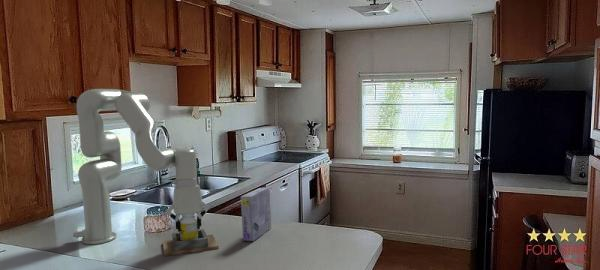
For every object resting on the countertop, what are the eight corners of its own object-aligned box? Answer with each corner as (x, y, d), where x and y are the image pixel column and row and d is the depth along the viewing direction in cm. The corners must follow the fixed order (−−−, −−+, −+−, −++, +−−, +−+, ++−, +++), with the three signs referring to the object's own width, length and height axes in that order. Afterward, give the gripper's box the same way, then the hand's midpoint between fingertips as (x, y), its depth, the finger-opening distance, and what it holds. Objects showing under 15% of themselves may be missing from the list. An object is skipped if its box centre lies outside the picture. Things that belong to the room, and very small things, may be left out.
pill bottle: (182, 238, 164) (180, 209, 162) (199, 238, 164) (198, 208, 163) (178, 244, 157) (177, 213, 156) (196, 244, 158) (195, 213, 156)
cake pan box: (262, 226, 183) (260, 185, 181) (273, 227, 181) (271, 186, 179) (241, 241, 165) (239, 196, 163) (253, 242, 163) (251, 197, 161)
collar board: (164, 256, 151) (163, 245, 151) (162, 243, 164) (162, 233, 164) (218, 248, 157) (218, 237, 157) (212, 236, 171) (212, 227, 170)
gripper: (162, 186, 152) (165, 235, 154) (211, 182, 158) (213, 229, 160) (161, 182, 159) (164, 229, 161) (208, 178, 165) (210, 224, 167)
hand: (188, 229), depth 160 cm, fingers closed on pill bottle, 6 cm apart
